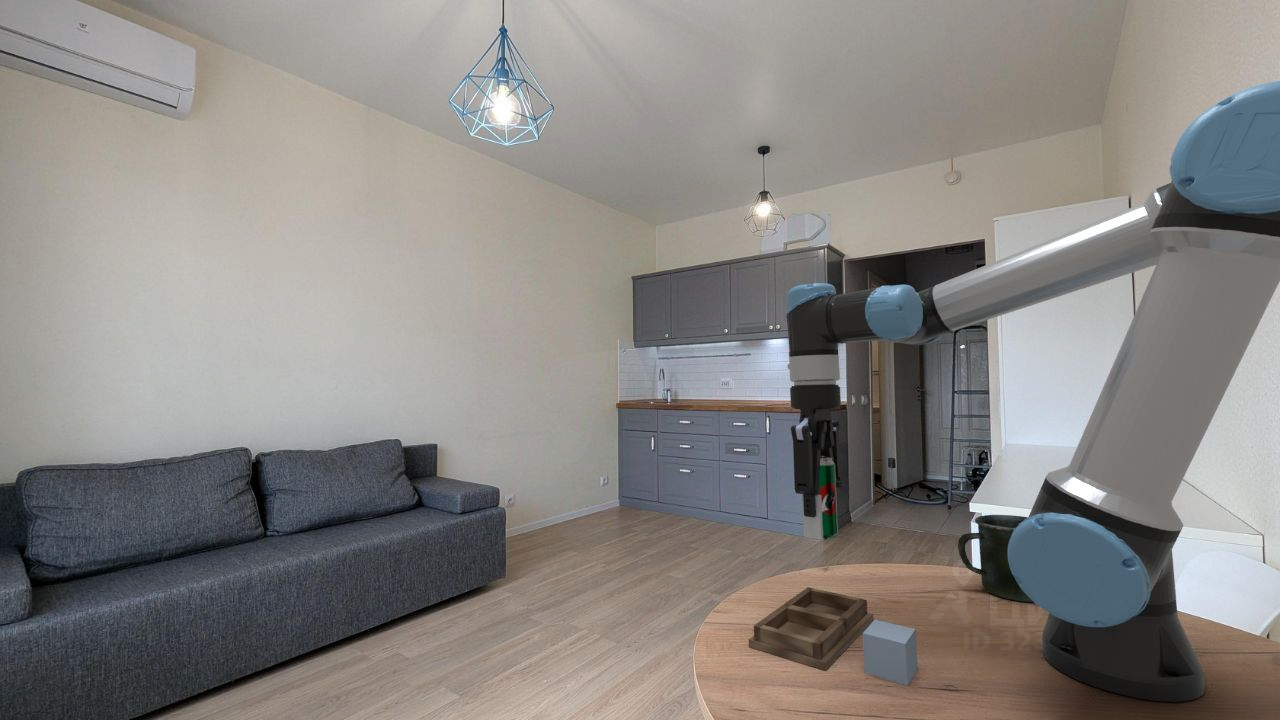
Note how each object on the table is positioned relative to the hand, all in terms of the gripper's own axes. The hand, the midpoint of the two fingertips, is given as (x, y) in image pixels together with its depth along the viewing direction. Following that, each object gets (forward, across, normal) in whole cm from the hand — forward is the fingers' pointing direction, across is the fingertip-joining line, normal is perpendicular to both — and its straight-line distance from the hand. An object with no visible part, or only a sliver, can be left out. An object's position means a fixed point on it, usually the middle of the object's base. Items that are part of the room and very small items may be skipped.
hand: (820, 533), depth 85 cm
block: (+14, +9, +12) cm, 20 cm away
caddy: (+13, +4, 0) cm, 14 cm away
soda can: (0, 0, 0) cm, 0 cm away
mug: (+14, -30, +20) cm, 39 cm away
